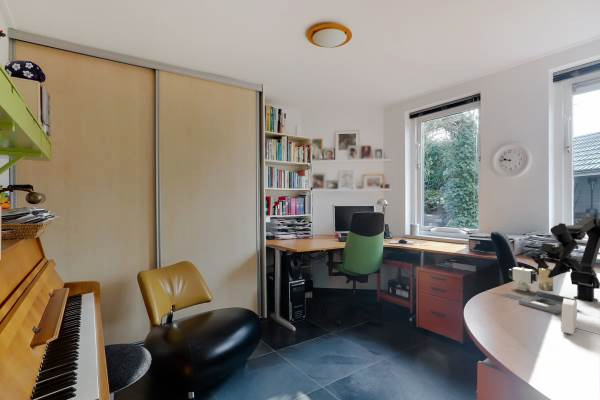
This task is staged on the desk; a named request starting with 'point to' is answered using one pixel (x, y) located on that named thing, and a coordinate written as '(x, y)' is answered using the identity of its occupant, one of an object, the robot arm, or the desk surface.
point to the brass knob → (545, 279)
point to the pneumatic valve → (523, 277)
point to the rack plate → (545, 298)
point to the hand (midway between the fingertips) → (543, 275)
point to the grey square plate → (512, 296)
